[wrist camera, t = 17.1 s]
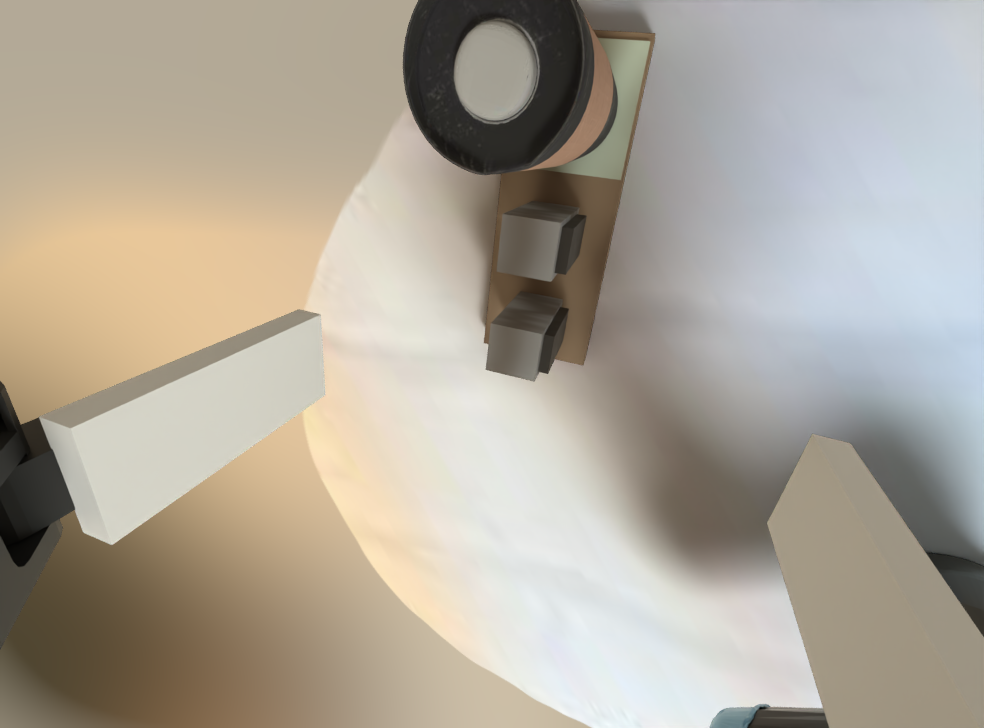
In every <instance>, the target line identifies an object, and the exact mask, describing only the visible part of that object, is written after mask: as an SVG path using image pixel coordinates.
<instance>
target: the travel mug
mask: <svg viewBox="0 0 984 728" xmlns="http://www.w3.org/2000/svg"><path fill="white" fill-rule="evenodd" d="M403 75H404V84H405V90H406V95H407V98H408V102H409V106H410V109H411V111H412V114H413V116H414V119H415V121H416V123H417V125H418V127H419V129H420V130H421V132H422V133H423V135H424V136H425V138H426V139H427V141H428V142H429V143H430V144H431V145H432V146H433V148H434V149H435V150H436V151H438V152H439V153H440V154H441V155H442V156H443V157H444V158H446V159H447V160H449V161H450V162H452V163H453V164H455V165H457V166H459V167H460V168H462V169H465V170H467V171H469V172H472V173H475V174H480V175H489V174H502V173H510V172H518V171H526V170H533V169H541V168H549V167H556V166H559V165H563V164H566V163H568V162H571V161H574V160H576V159H579V158H581V157H583V156H585V155H587V154H589V153H591V152H592V151H593V150H595V149H596V148H597V147H598V146H599V145H600V144H601V143H602V142H603V141H604V140H605V138H606V137H607V135H608V134H609V132H610V130H611V128H612V126H613V124H614V121H615V118H616V114H617V107H618V94H617V87H616V83H615V80H614V76H613V73H612V69H611V65H610V62H609V60H608V57H607V55H606V52H605V51H604V49H603V47H602V45H601V43H600V42H599V40H598V38H597V36H596V34H595V33H594V31H593V29H592V27H591V26H590V24H589V22H588V20H587V18H586V17H585V15H584V13H583V11H582V9H581V8H580V6H579V4H578V2H577V0H418V2H417V5H416V7H415V9H414V11H413V14H412V16H411V20H410V22H409V25H408V29H407V34H406V37H405V44H404V52H403Z"/></svg>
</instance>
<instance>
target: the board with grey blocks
mask: <svg viewBox="0 0 984 728" xmlns="http://www.w3.org/2000/svg"><path fill="white" fill-rule="evenodd" d="M593 31H594V33H595V34H596V36H597V38H598V40H599V42H600V43H601V45H602V47H603V49H604V51H605V52H606V55H607V57H608V60H609V62H610V65H611V69H612V73H613V76H614V80H615V83H616V87H617V94H618V107H617V114H616V118H615V121H614V124H613V126H612V128H611V130H610V132H609V134H608V135H607V137H606V138H605V140H604V141H603V142H602V143H601V144H600V145H599V146H598V147H597V148H596V149H595V150H593V151H592V152H591V153H589V154H587V155H585V156H583V157H581V158H579V159H576V160H574V161H571V162H568V163H566V164H563V165H559V166H556V167H549V168H541V169H533V170H526V171H518V172H510V173H502V174H501V182H500V192H499V201H498V211H497V221H496V230H495V240H494V250H493V260H492V269H491V279H490V289H489V299H488V308H487V318H486V328H485V337H484V343H487V344H489V345H488V354H487V364H486V370H489V371H493V372H497V373H501V374H505V375H510V376H514V377H518V378H522V379H526V380H530V381H535V379H536V377H537V376H538V374H539V372H542V373H546V374H548V373H549V370H550V368H551V366H552V364H553V362H554V360H555V359H557V360H561V361H566V362H570V363H575V364H579V365H583V364H584V361H585V358H586V353H587V349H588V344H589V340H590V335H591V331H592V326H593V321H594V317H595V312H596V308H597V303H598V299H599V294H600V289H601V285H602V280H603V276H604V271H605V266H606V262H607V257H608V253H609V248H610V244H611V239H612V234H613V230H614V225H615V221H616V216H617V212H618V207H619V202H620V198H621V193H622V189H623V184H624V180H625V175H626V170H627V166H628V161H629V157H630V152H631V147H632V143H633V138H634V134H635V129H636V125H637V120H638V115H639V111H640V106H641V102H642V97H643V93H644V88H645V83H646V79H647V74H648V70H649V65H650V60H651V56H652V51H653V47H654V42H655V33H638V32H621V31H604V30H593Z"/></svg>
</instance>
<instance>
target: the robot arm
mask: <svg viewBox="0 0 984 728" xmlns="http://www.w3.org/2000/svg"><path fill="white" fill-rule="evenodd" d="M324 395H325V379H324V362H323V344H322V327H321V315H320V314H316V313H312V312H308V311H304V310H296V311H294V312H291V313H289V314H287V315H284V316H282V317H279V318H277V319H274V320H272V321H269V322H267V323H265V324H262V325H260V326H257V327H255V328H253V329H250V330H248V331H246V332H243V333H241V334H238V335H236V336H233V337H231V338H228V339H226V340H223V341H221V342H219V343H216V344H214V345H212V346H209V347H206V348H204V349H202V350H199V351H197V352H195V353H192V354H190V355H188V356H185V357H182V358H180V359H177V360H175V361H173V362H170V363H168V364H165V365H163V366H161V367H158V368H156V369H153V370H151V371H148V372H146V373H143V374H141V375H139V376H136V377H134V378H131V379H129V380H127V381H124V382H122V383H119V384H117V385H114V386H112V387H110V388H107V389H105V390H102V391H100V392H97V393H95V394H93V395H90V396H88V397H85V398H83V399H81V400H78V401H76V402H73V403H71V404H68V405H66V406H64V407H61V408H59V409H56V410H54V411H51V412H49V413H47V414H44V415H42V416H39V418H37V419H34V420H32V421H30V422H27V423H24V424H22V425H20V422H19V420H18V417H17V415H16V412H15V410H14V408H13V405H12V403H11V400H10V398H9V396H8V393H7V391H6V388H5V386H4V385H3V384H2V382H1V381H0V649H1V647H2V645H3V643H4V641H5V640H6V638H7V636H8V634H9V632H10V630H11V628H12V627H13V624H14V623H15V621H16V619H17V617H18V615H19V614H20V612H21V610H22V608H23V606H24V604H25V602H26V600H27V599H28V597H29V595H30V593H31V591H32V589H33V587H34V586H35V584H36V582H37V580H38V578H39V576H40V574H41V572H42V571H43V569H44V567H45V565H46V563H47V561H48V559H49V557H50V556H51V554H52V552H53V550H54V548H55V546H56V544H57V543H58V541H59V539H60V537H61V534H62V529H63V527H62V524H61V522H60V518H62V517H63V516H65V515H67V514H68V513H70V512H72V511H73V510H75V512H76V514H77V517H78V520H79V522H80V525H81V527H82V530H83V532H84V533H86V534H88V535H90V536H92V537H95V538H97V539H99V540H102V541H104V542H106V543H108V544H111V545H113V544H114V543H116V542H117V541H118V540H120V539H121V538H123V537H124V536H125V535H127V534H128V533H130V532H131V531H133V530H134V529H135V528H137V527H138V526H140V525H141V524H143V523H144V522H145V521H147V520H148V519H150V518H151V517H152V516H154V515H155V514H157V513H158V512H159V511H161V510H162V509H164V508H165V507H167V506H168V505H170V504H171V503H172V502H174V501H175V500H177V499H178V498H179V497H181V496H182V495H184V494H185V493H187V492H188V491H189V490H191V489H192V488H194V487H195V486H197V485H198V484H199V483H201V482H202V481H204V480H205V479H206V478H208V477H209V476H211V475H212V474H214V473H215V472H216V471H218V470H219V469H221V468H222V467H224V466H225V465H226V464H228V463H229V462H230V461H232V460H233V459H235V458H236V457H238V456H239V455H241V454H242V453H243V452H245V451H246V450H248V449H249V448H251V447H252V446H253V445H255V444H256V443H257V442H259V441H260V440H262V439H263V438H265V437H266V436H267V435H269V434H270V433H272V432H273V431H275V430H276V429H278V428H279V427H280V426H282V425H283V424H285V423H286V422H287V421H289V420H290V419H292V418H293V417H294V416H296V415H297V414H299V413H300V412H302V411H303V410H305V409H306V408H307V407H309V406H310V405H312V404H313V403H315V402H316V401H317V400H319V399H320V398H322V397H323V396H324ZM767 525H768V528H769V532H770V535H771V538H772V541H773V545H774V548H775V551H776V555H777V558H778V561H779V564H780V568H781V571H782V574H783V578H784V581H785V584H786V587H787V591H788V594H789V597H790V601H791V604H792V607H793V610H794V614H795V617H796V620H797V624H798V627H799V630H800V633H801V637H802V640H803V643H804V647H805V650H806V653H807V656H808V660H809V663H810V666H811V670H812V673H813V676H814V679H815V683H816V686H817V689H818V693H819V696H820V699H821V702H822V706H823V708H792V707H770V706H769V705H767V704H759V705H757V706H755V707H737V708H726V709H723V710H721V711H720V712H719V713H718V714H717V715H716V717H715V718H714V719H713V720H712V722H711V725H710V728H984V566H981V565H979V564H976V563H974V562H971V561H968V560H964V559H961V558H957V557H952V556H946V555H939V554H927V553H925V551H924V550H923V548H922V547H921V545H920V544H919V542H918V541H917V539H916V538H915V537H914V535H913V534H912V532H911V531H910V529H909V528H908V526H907V525H906V523H905V522H904V521H903V519H902V518H901V516H900V515H899V513H898V512H897V510H896V509H895V507H894V506H893V505H892V503H891V502H890V500H889V499H888V497H887V496H886V494H885V493H884V491H883V490H882V489H881V487H880V486H879V484H878V483H877V481H876V480H875V478H874V477H873V475H872V474H871V473H870V471H869V470H868V468H867V467H866V465H865V464H864V462H863V461H862V459H861V458H860V457H859V455H858V454H857V452H856V451H855V449H854V448H853V446H852V445H851V443H848V442H844V441H839V440H835V439H831V438H827V437H823V436H819V435H815V434H812V435H811V437H810V439H809V441H808V443H807V445H806V447H805V449H804V451H803V453H802V455H801V457H800V459H799V461H798V463H797V465H796V467H795V469H794V471H793V473H792V475H791V477H790V479H789V481H788V483H787V485H786V487H785V489H784V491H783V493H782V495H781V497H780V499H779V501H778V503H777V505H776V507H775V509H774V511H773V512H772V514H771V516H770V518H769V520H768V522H767Z"/></svg>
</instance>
